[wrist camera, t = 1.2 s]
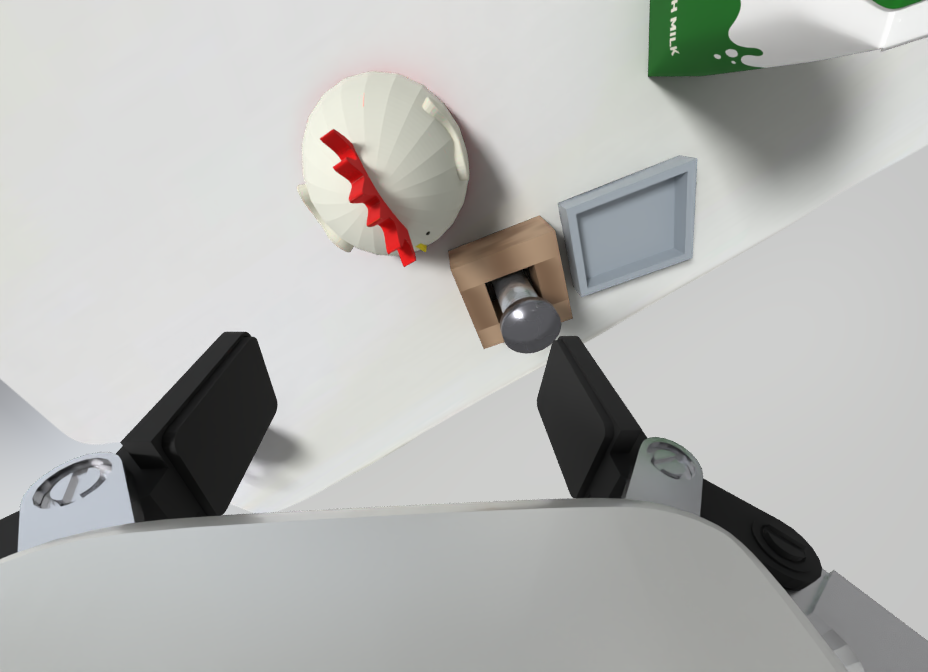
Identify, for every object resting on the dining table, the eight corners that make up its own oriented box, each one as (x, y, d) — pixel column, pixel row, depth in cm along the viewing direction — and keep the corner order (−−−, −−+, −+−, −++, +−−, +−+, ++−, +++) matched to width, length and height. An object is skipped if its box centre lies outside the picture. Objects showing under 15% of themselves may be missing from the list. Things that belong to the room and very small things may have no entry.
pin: (522, 246, 35) (554, 294, 26) (532, 286, 38) (565, 342, 29) (478, 263, 36) (495, 316, 27) (491, 300, 39) (511, 360, 29)
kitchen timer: (375, 267, 35) (346, 351, 23) (275, 135, 28) (152, 154, 16) (491, 199, 32) (530, 254, 20) (414, 32, 25) (399, -45, 13)
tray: (679, 155, 31) (697, 158, 29) (677, 249, 37) (692, 258, 35) (557, 203, 33) (566, 209, 31) (573, 287, 38) (581, 297, 36)
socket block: (539, 215, 33) (554, 230, 29) (557, 296, 39) (572, 318, 35) (448, 251, 35) (450, 269, 31) (478, 324, 40) (483, 349, 36)
